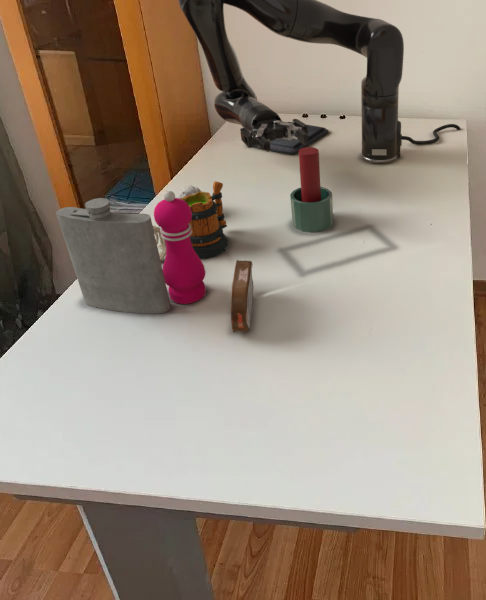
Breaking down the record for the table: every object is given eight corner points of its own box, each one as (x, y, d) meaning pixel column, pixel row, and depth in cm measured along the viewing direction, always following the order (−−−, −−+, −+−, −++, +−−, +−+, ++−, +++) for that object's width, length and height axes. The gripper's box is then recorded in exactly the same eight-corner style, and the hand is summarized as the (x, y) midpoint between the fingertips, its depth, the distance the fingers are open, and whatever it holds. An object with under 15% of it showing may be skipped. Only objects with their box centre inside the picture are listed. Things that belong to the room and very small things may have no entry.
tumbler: (322, 212, 138) (320, 182, 134) (340, 228, 132) (339, 197, 128) (286, 220, 135) (283, 191, 131) (303, 237, 129) (300, 207, 125)
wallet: (292, 149, 164) (245, 139, 170) (293, 156, 165) (246, 146, 171) (331, 125, 178) (286, 117, 184) (331, 132, 179) (287, 124, 185)
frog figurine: (188, 225, 134) (182, 195, 130) (173, 213, 138) (167, 184, 134) (213, 216, 137) (208, 186, 133) (198, 205, 141) (192, 176, 137)
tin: (239, 291, 113) (234, 250, 108) (257, 290, 113) (252, 249, 108) (232, 343, 101) (225, 300, 96) (252, 342, 101) (246, 299, 96)
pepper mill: (216, 287, 114) (200, 185, 103) (194, 309, 108) (175, 203, 97) (181, 280, 116) (162, 179, 104) (158, 301, 110) (135, 197, 99)
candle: (317, 216, 136) (313, 145, 126) (325, 224, 133) (322, 152, 124) (300, 220, 134) (295, 149, 125) (308, 228, 131) (303, 155, 122)
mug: (208, 264, 120) (199, 210, 114) (167, 252, 124) (155, 199, 117) (248, 235, 130) (241, 183, 123) (208, 224, 134) (200, 174, 127)
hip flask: (173, 303, 110) (150, 200, 98) (163, 317, 106) (138, 211, 95) (91, 294, 112) (59, 191, 101) (78, 307, 109) (44, 203, 97)
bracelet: (128, 270, 119) (118, 233, 114) (158, 251, 124) (150, 215, 120) (143, 275, 117) (134, 238, 112) (173, 256, 123) (166, 220, 118)
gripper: (289, 131, 150) (318, 154, 138) (232, 142, 144) (257, 166, 132) (286, 100, 145) (316, 120, 134) (228, 109, 140) (253, 132, 128)
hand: (287, 143), depth 133 cm, fingers open, 8 cm apart
